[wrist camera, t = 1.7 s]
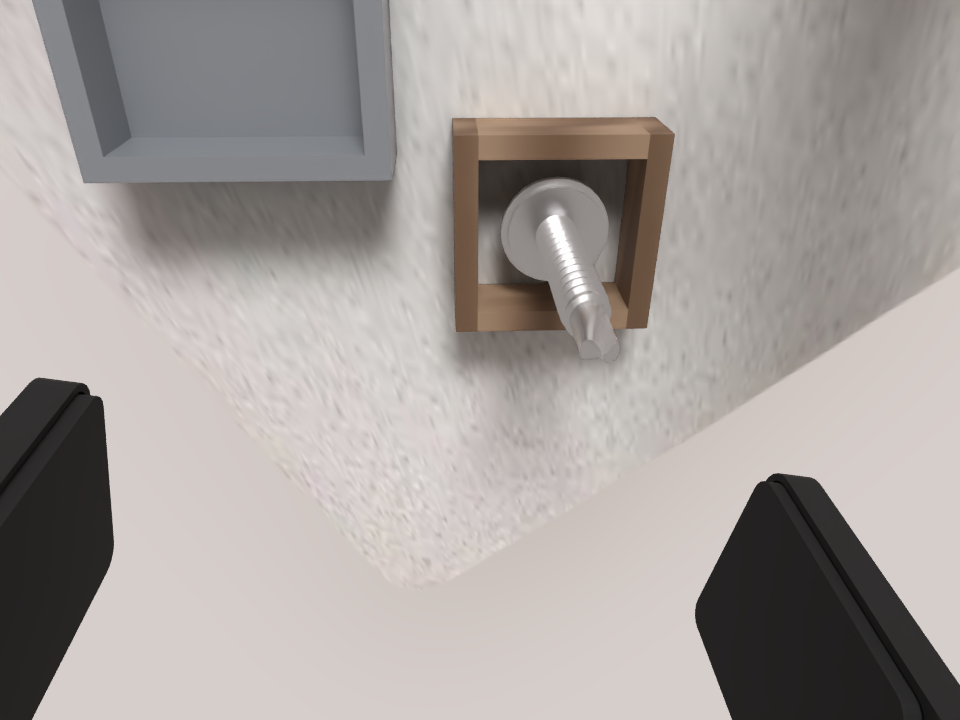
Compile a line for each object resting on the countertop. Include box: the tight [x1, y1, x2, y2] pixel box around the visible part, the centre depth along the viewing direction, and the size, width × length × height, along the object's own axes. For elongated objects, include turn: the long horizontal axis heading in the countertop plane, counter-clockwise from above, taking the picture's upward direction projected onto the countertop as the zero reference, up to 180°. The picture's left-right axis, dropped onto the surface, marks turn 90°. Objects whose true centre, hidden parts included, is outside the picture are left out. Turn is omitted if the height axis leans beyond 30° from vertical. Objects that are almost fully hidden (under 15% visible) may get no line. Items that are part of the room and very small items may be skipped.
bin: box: [32, 0, 397, 183], centre depth 27 cm, size 12×12×4 cm
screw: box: [501, 176, 620, 363], centre depth 28 cm, size 13×5×5 cm
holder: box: [452, 117, 675, 332], centre depth 33 cm, size 9×9×3 cm
